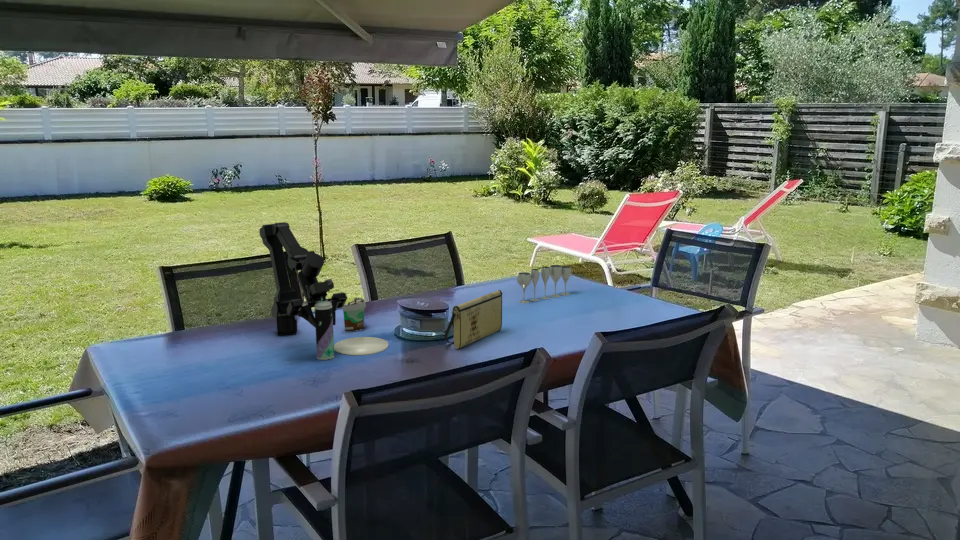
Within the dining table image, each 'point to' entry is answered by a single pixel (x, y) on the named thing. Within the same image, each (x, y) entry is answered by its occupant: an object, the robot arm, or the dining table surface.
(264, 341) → the dining table surface
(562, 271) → the goblet set
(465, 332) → the clutch purse
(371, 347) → the cream round disc
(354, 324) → the food container
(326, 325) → the spray can
